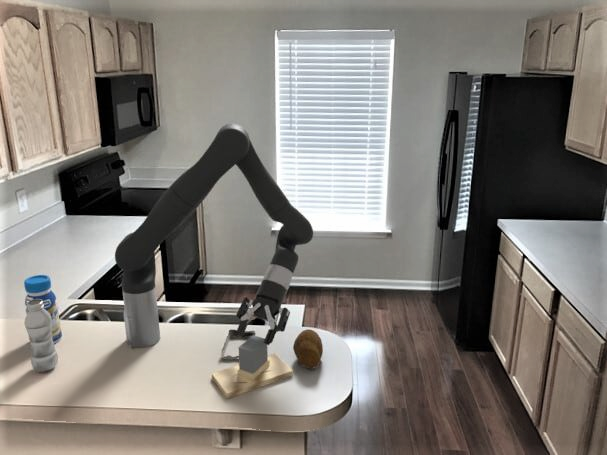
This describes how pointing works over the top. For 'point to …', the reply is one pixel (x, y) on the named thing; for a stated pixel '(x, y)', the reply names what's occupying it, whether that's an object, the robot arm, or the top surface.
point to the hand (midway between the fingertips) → (252, 339)
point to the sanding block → (252, 357)
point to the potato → (308, 348)
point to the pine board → (238, 384)
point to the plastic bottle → (40, 336)
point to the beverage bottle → (44, 300)
